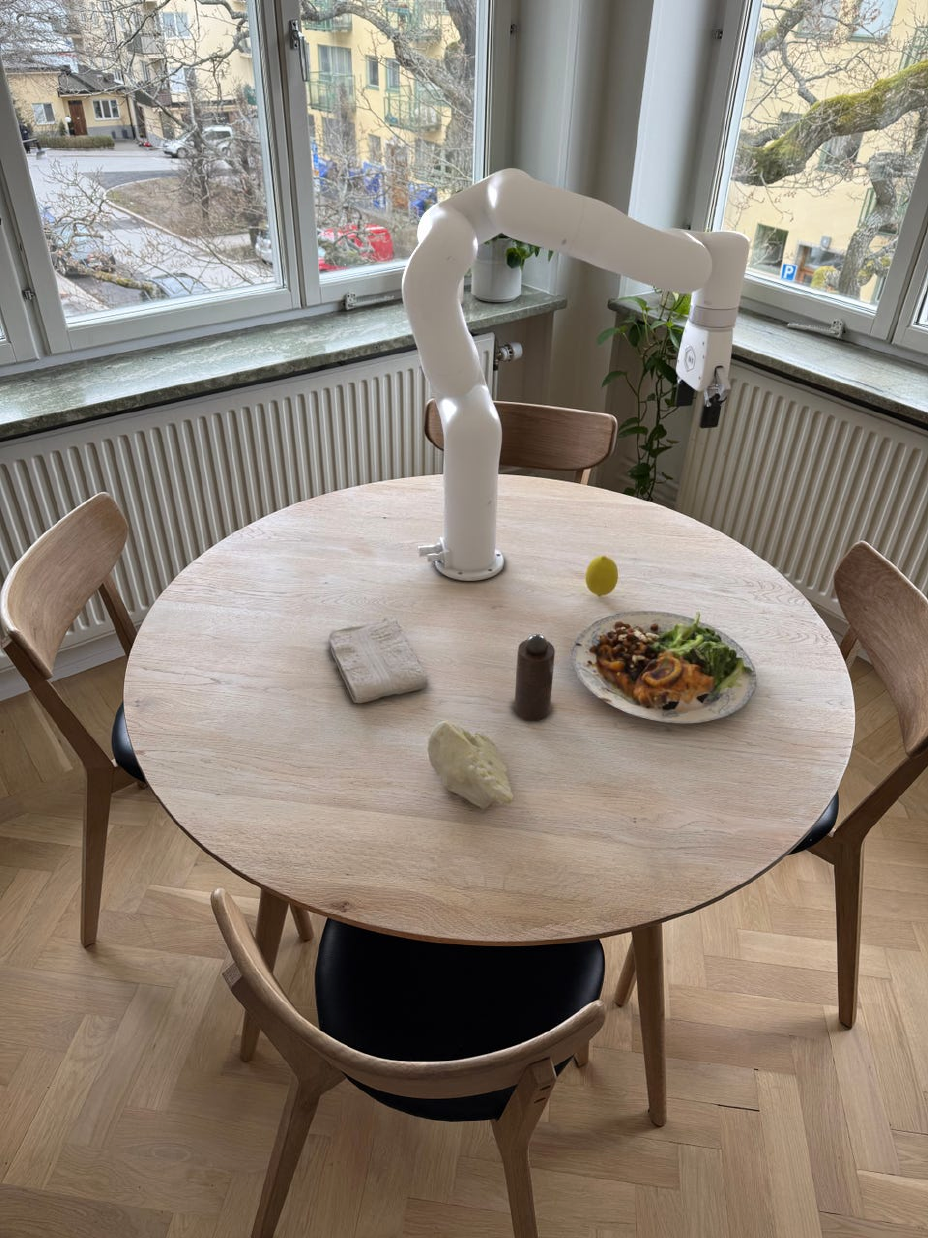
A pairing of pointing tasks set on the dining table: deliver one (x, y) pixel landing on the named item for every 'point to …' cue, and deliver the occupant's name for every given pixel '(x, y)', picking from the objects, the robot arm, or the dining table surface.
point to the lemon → (601, 575)
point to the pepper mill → (534, 678)
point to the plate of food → (664, 667)
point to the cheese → (469, 764)
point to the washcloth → (376, 660)
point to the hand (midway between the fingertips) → (695, 416)
